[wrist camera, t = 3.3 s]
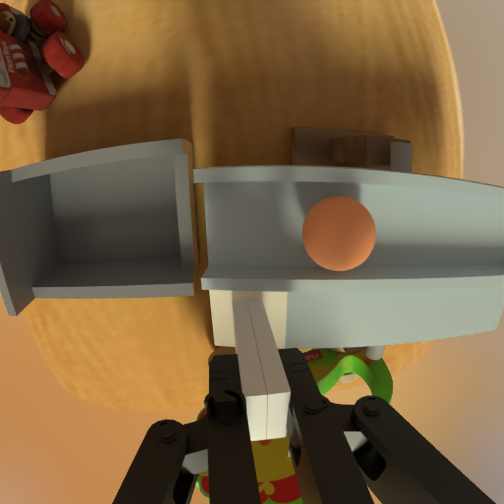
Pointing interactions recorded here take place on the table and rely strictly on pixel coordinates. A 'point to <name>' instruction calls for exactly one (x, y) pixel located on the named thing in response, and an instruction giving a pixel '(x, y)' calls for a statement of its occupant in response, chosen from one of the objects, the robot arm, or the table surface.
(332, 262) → the ball
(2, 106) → the toy fire truck
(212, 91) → the table surface
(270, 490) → the toy lion
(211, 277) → the lever
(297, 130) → the stand
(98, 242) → the pulled-out tray drawer
